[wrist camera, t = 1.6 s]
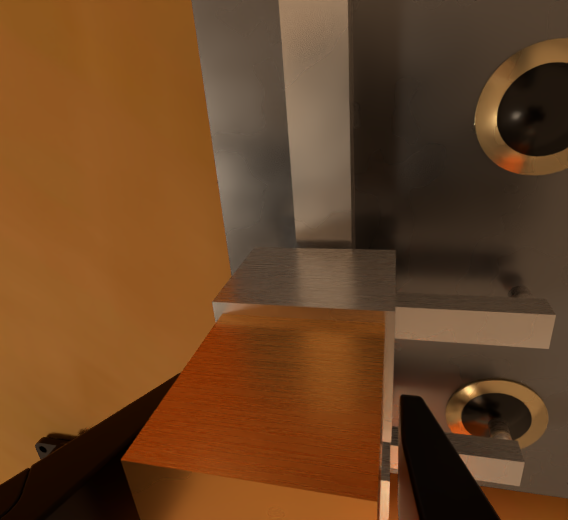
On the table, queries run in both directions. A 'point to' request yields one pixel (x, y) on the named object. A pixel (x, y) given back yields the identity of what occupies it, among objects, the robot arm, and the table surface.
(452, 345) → the bolt plate
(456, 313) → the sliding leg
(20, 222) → the table surface
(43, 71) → the table surface
